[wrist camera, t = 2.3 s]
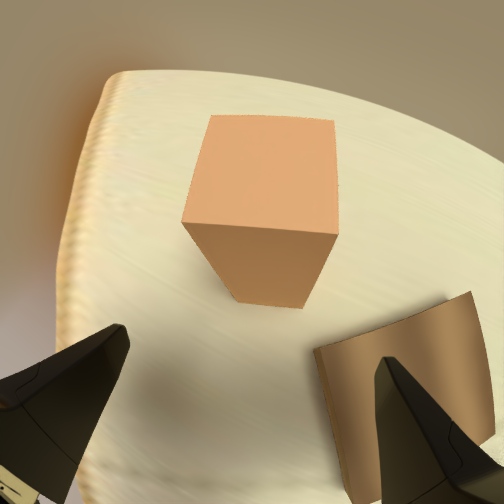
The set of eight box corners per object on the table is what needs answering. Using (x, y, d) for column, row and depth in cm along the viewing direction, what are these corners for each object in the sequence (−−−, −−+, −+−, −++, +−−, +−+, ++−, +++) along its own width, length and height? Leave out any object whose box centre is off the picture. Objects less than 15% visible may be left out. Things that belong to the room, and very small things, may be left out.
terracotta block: (302, 308, 22) (338, 234, 9) (238, 302, 22) (181, 222, 9) (306, 247, 23) (334, 120, 10) (246, 242, 24) (211, 115, 11)
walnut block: (344, 488, 16) (355, 508, 12) (312, 349, 21) (320, 348, 17) (470, 427, 16) (495, 433, 12) (446, 301, 21) (470, 290, 17)
